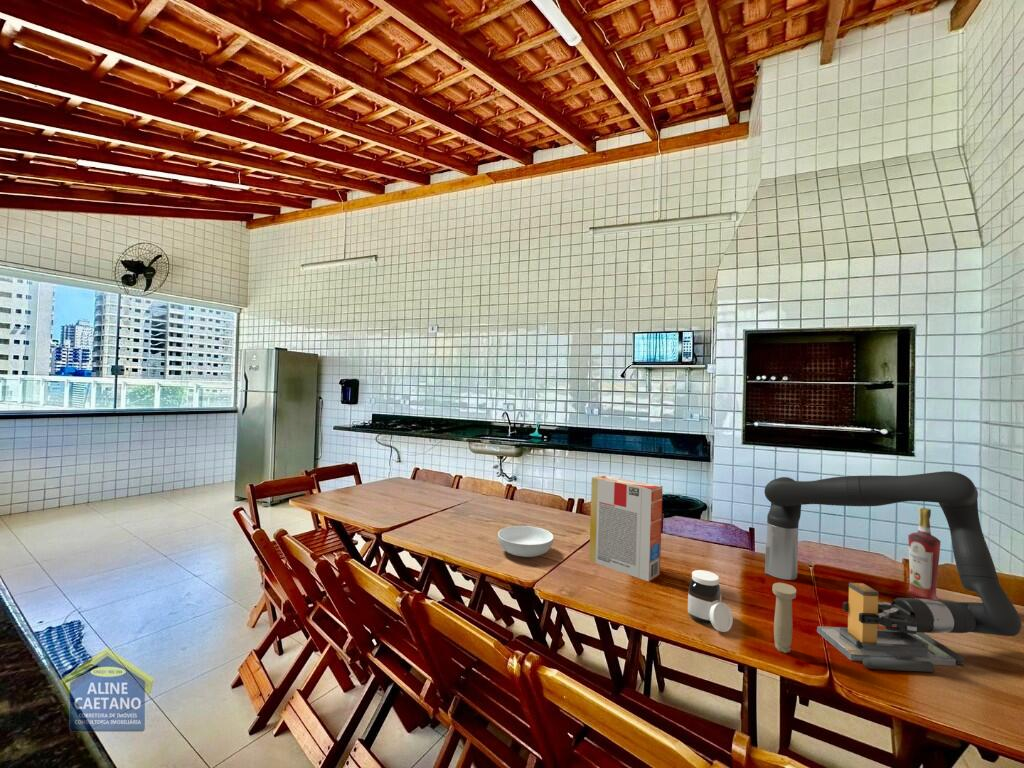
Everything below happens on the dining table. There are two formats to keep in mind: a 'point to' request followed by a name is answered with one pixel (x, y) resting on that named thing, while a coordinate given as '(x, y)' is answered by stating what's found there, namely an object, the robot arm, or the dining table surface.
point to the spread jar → (708, 601)
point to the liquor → (923, 559)
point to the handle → (783, 616)
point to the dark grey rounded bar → (942, 648)
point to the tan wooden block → (862, 611)
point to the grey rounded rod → (899, 665)
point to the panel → (885, 646)
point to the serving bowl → (525, 540)
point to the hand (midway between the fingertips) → (852, 612)
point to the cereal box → (626, 526)
